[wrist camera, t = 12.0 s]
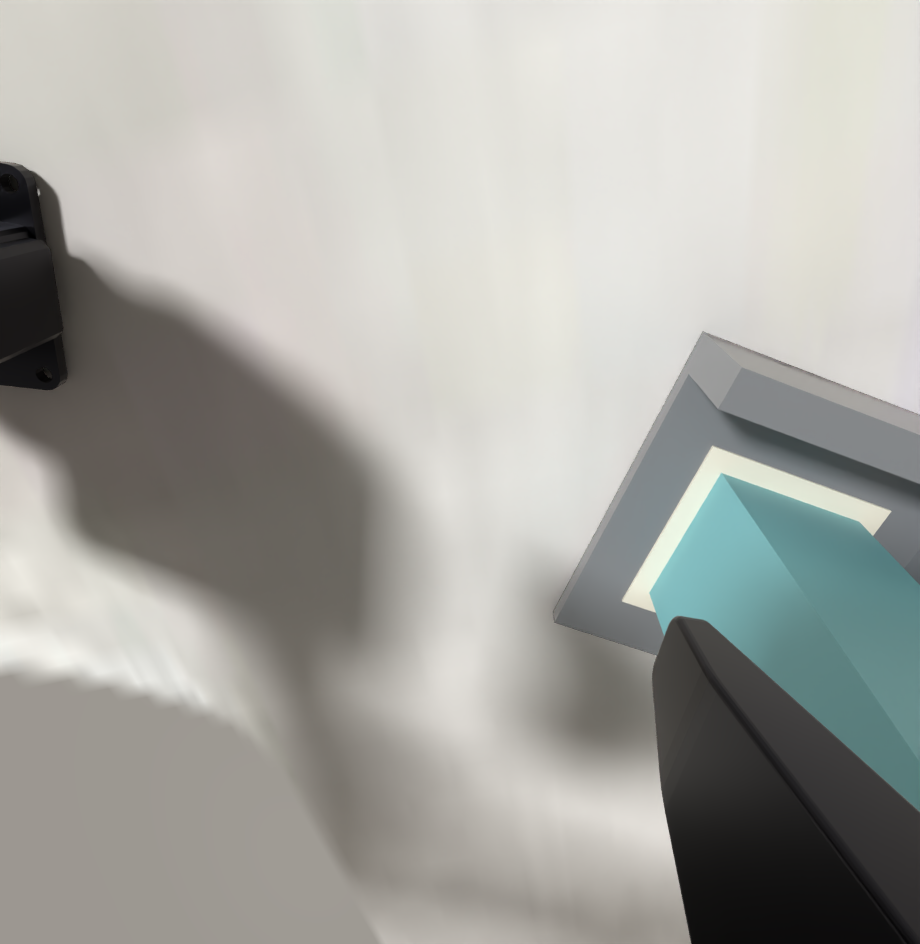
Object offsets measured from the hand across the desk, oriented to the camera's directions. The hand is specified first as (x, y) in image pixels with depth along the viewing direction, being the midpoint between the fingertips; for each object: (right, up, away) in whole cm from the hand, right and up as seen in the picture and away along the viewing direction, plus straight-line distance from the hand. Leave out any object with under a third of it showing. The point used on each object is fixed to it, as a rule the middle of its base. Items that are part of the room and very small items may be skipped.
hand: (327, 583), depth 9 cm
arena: (+12, -1, +15) cm, 19 cm away
